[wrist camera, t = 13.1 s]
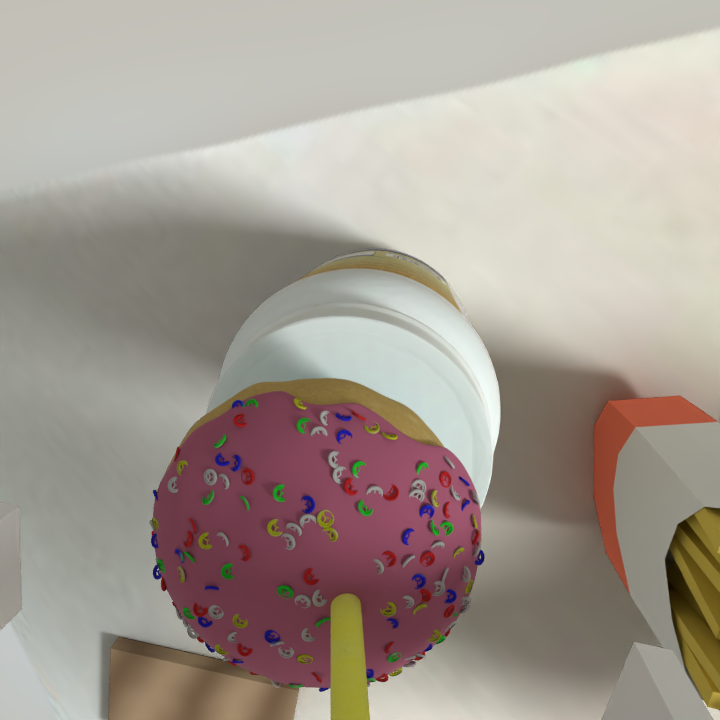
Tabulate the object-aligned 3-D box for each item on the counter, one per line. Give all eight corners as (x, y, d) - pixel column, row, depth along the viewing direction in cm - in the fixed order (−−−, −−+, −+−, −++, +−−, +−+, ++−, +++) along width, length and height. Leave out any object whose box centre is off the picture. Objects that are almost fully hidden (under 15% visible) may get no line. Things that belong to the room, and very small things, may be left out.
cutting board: (300, 677, 43) (297, 690, 41) (285, 762, 46) (282, 776, 44) (118, 636, 43) (110, 648, 42) (115, 722, 46) (107, 735, 45)
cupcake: (459, 331, 16) (578, 639, 4) (468, 560, 18) (561, 1155, 7) (198, 348, 17) (-248, 633, 5) (238, 563, 19) (-18, 1081, 8)
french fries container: (587, 530, 36) (745, 820, 19) (588, 388, 33) (775, 576, 16) (655, 528, 36) (882, 823, 18) (662, 382, 33) (939, 571, 16)
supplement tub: (251, 309, 34) (105, 399, 18) (407, 208, 31) (400, 205, 15) (349, 453, 36) (298, 649, 20) (502, 371, 34) (586, 522, 17)
